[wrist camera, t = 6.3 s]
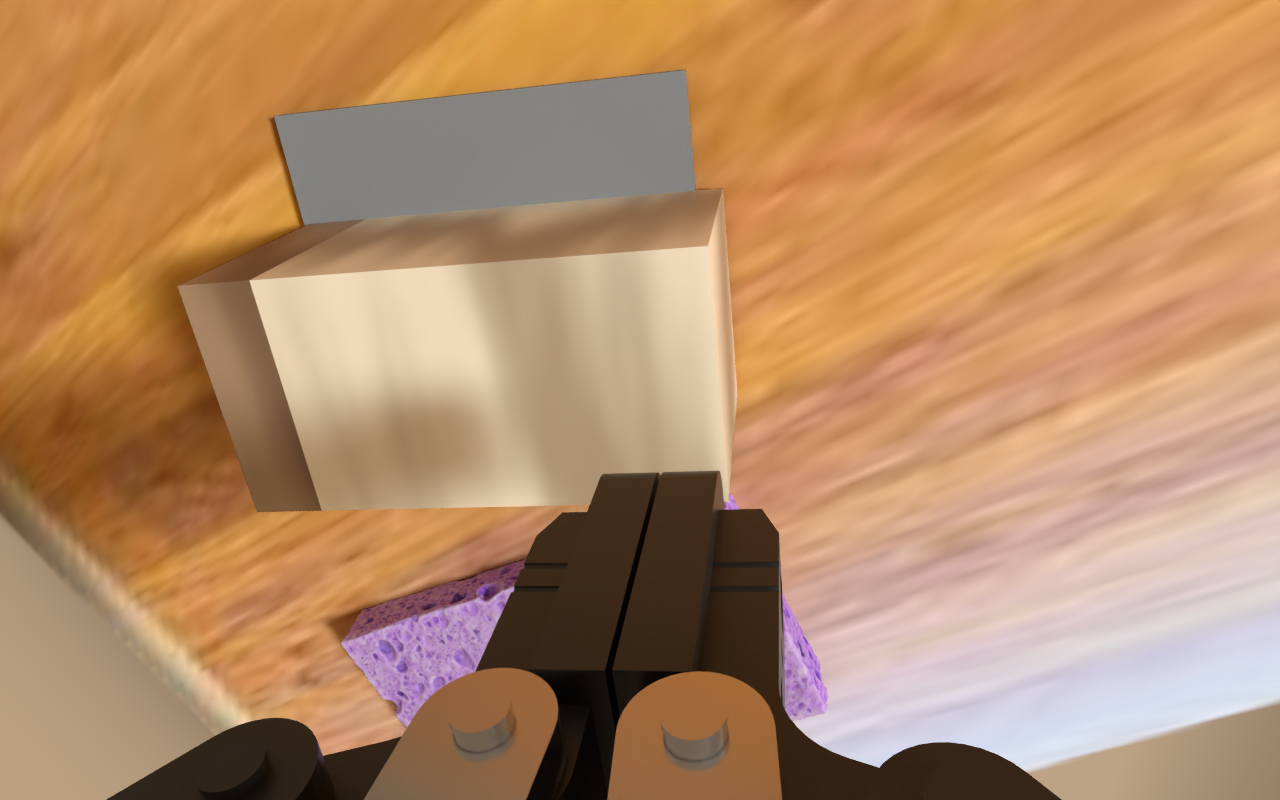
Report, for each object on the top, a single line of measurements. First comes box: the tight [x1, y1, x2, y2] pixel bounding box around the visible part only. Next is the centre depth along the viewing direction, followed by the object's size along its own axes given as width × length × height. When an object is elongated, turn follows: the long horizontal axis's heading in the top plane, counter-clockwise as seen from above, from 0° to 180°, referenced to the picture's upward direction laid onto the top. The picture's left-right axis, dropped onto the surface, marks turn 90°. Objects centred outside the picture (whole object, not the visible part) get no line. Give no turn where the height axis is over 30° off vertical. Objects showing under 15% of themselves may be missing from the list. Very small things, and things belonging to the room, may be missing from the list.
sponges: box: [341, 493, 828, 728], centre depth 25 cm, size 7×13×2 cm, turn 115°
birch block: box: [177, 188, 737, 512], centre depth 18 cm, size 5×5×10 cm
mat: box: [274, 69, 696, 226], centre depth 20 cm, size 10×10×1 cm
